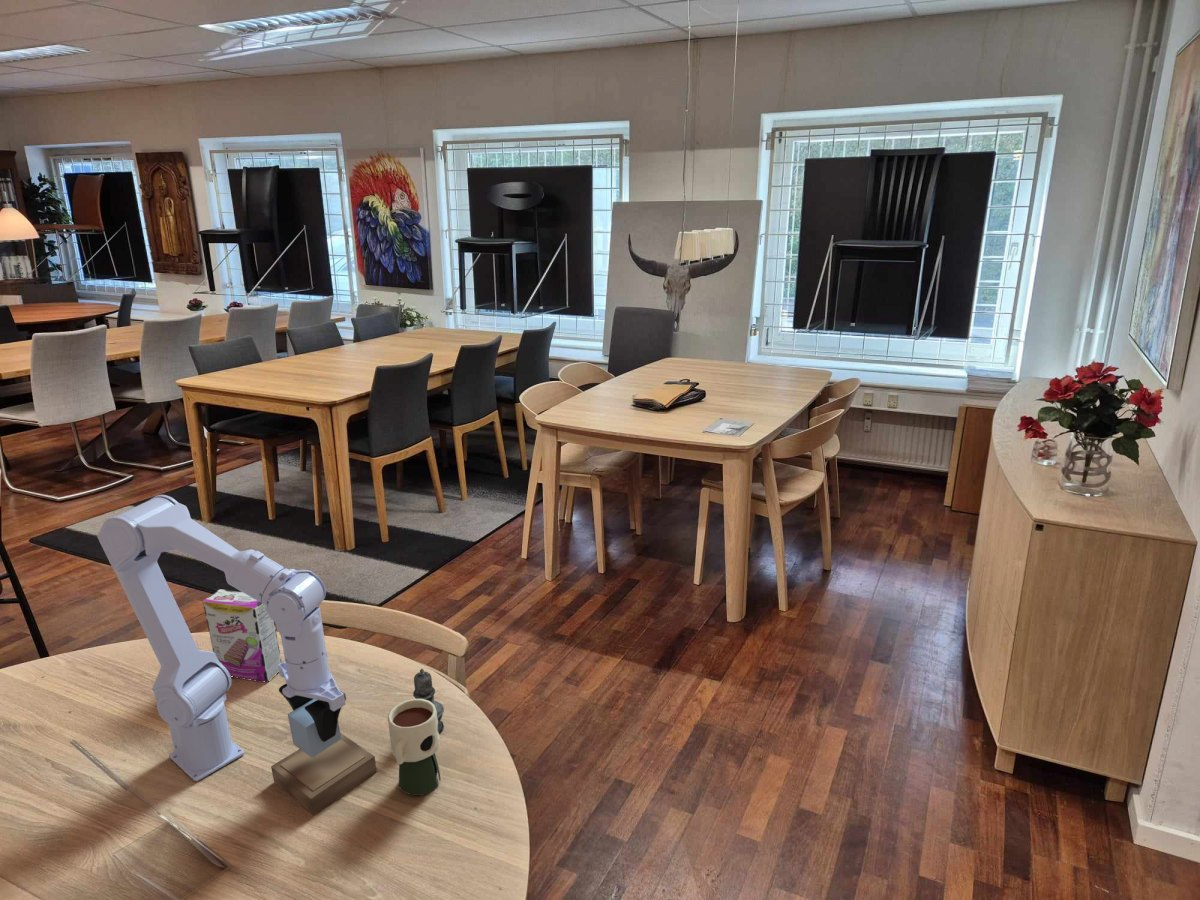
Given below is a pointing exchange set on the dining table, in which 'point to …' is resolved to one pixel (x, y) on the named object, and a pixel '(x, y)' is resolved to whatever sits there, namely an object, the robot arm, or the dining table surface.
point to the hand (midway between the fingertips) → (318, 730)
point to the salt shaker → (427, 694)
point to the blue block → (308, 732)
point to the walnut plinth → (324, 773)
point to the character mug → (415, 744)
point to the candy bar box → (242, 635)
